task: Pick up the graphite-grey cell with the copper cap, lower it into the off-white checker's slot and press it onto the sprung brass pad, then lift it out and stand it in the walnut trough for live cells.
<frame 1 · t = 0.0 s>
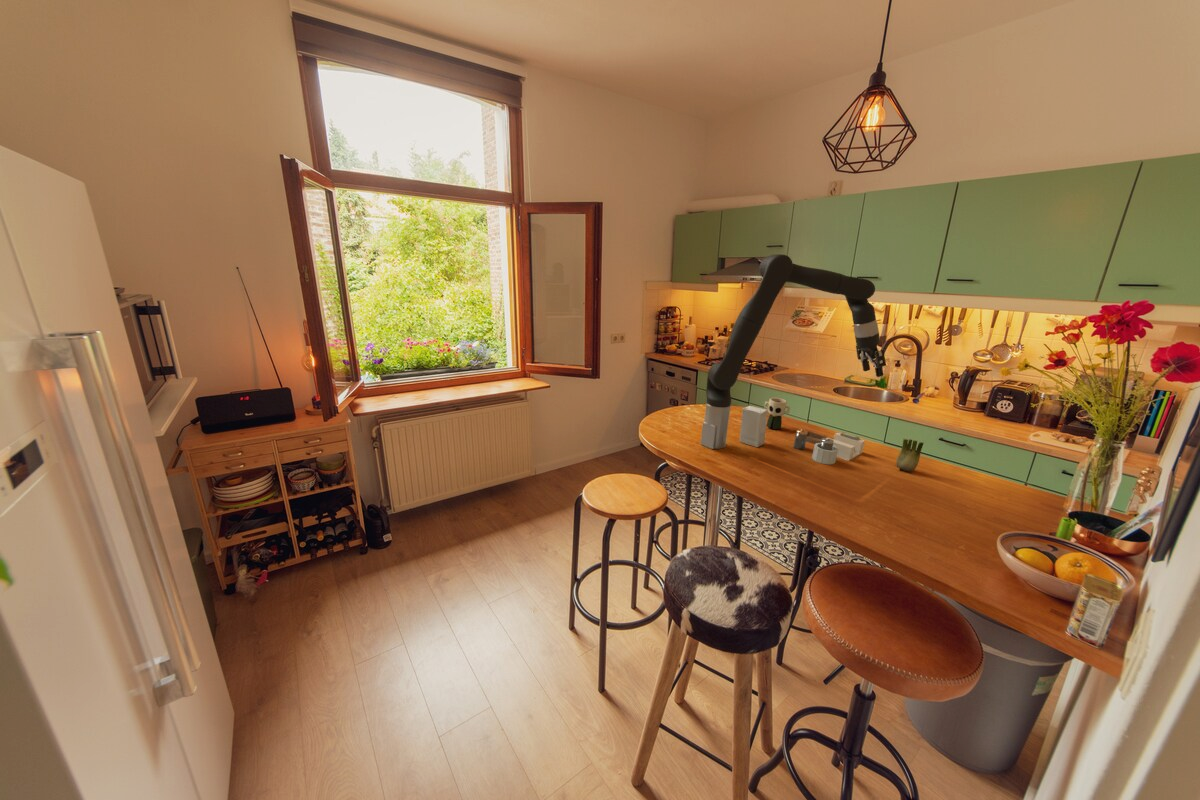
hand: (873, 373, 162), 31 cm above the breakfast bar, tool tilted 20°, fingers open, 8 cm apart
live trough: (814, 442, 178), on the breakfast bar
skincare box: (750, 443, 175), on the breakfast bar
brass pad: (843, 446, 166), point 3 cm above the breakfast bar, slide at 0.0 cm
white faceted round pot: (823, 461, 160), on the breakfast bar
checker: (841, 454, 167), on the breakfast bar
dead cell: (823, 459, 160), point 1 cm above the breakfast bar, touching white faceted round pot
live cell: (798, 449, 170), on the breakfast bar
fennel bulb: (904, 470, 155), on the breakfast bar
character mug: (773, 428, 192), on the breakfast bar
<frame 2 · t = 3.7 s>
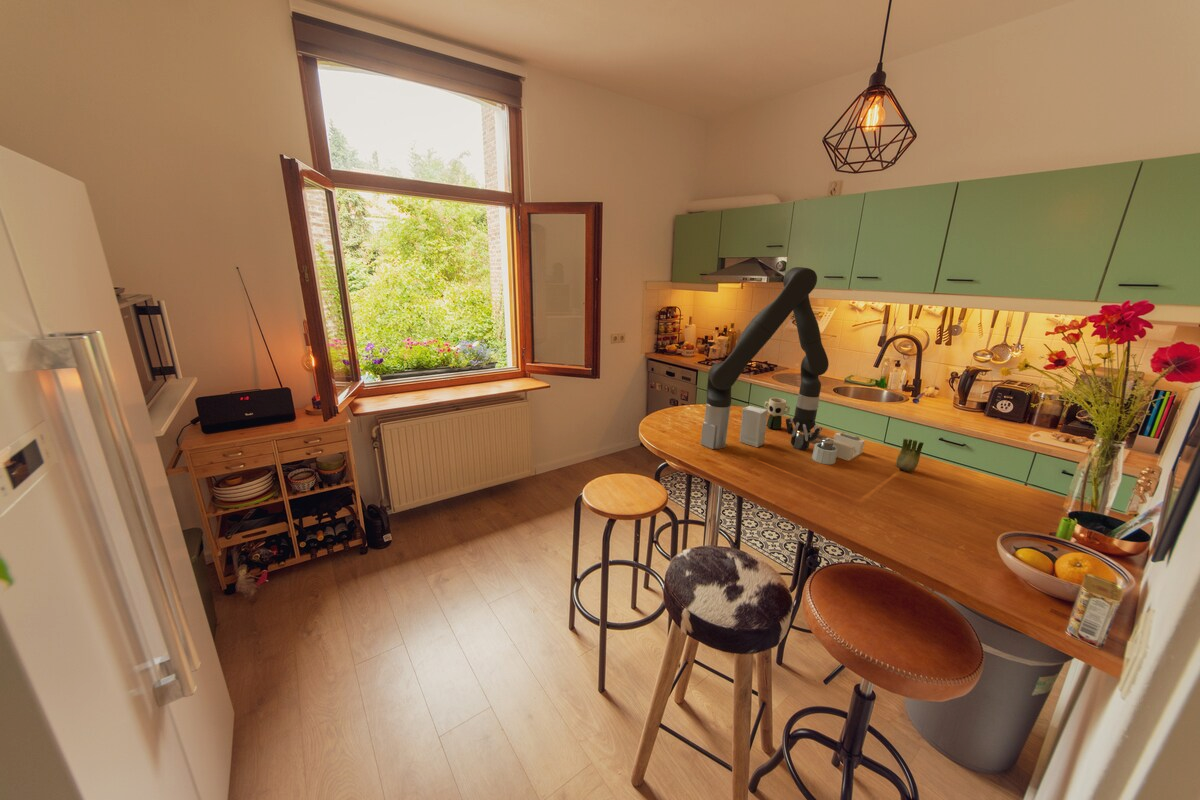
hand: (799, 446, 169), 1 cm above the breakfast bar, tool pointing down, fingers closed on live cell, 4 cm apart
live cell: (798, 449, 170), on the breakfast bar, touching gripper
everything else where it was.
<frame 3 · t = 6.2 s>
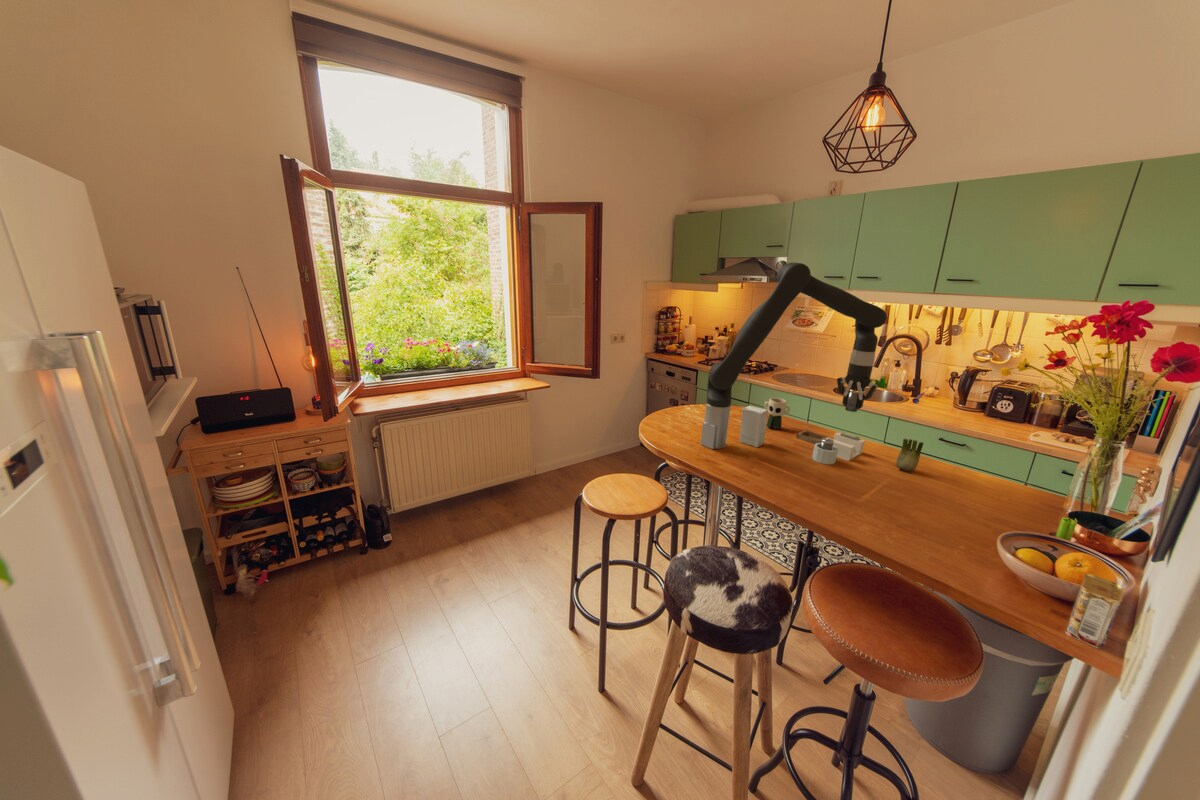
hand: (851, 407, 161), 19 cm above the breakfast bar, tool pointing down, fingers closed on live cell, 4 cm apart
live cell: (851, 410, 161), point 18 cm above the breakfast bar, touching gripper
everything else where it was.
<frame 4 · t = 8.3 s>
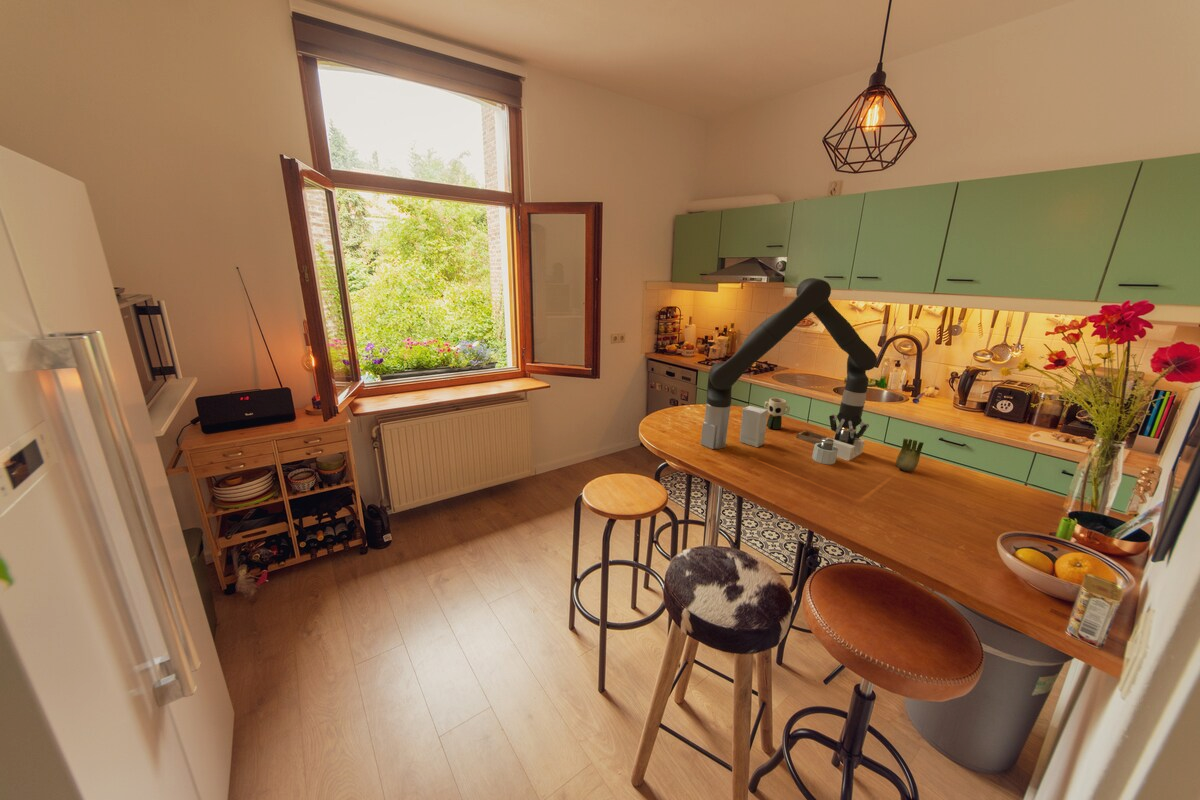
hand: (843, 444, 166), 4 cm above the breakfast bar, tool pointing down, fingers closed on live cell, 4 cm apart
brass pad: (842, 448, 166), point 3 cm above the breakfast bar, slide at -0.7 cm, touching live cell
live cell: (842, 446, 166), point 3 cm above the breakfast bar, touching brass pad, gripper
everything else where it was.
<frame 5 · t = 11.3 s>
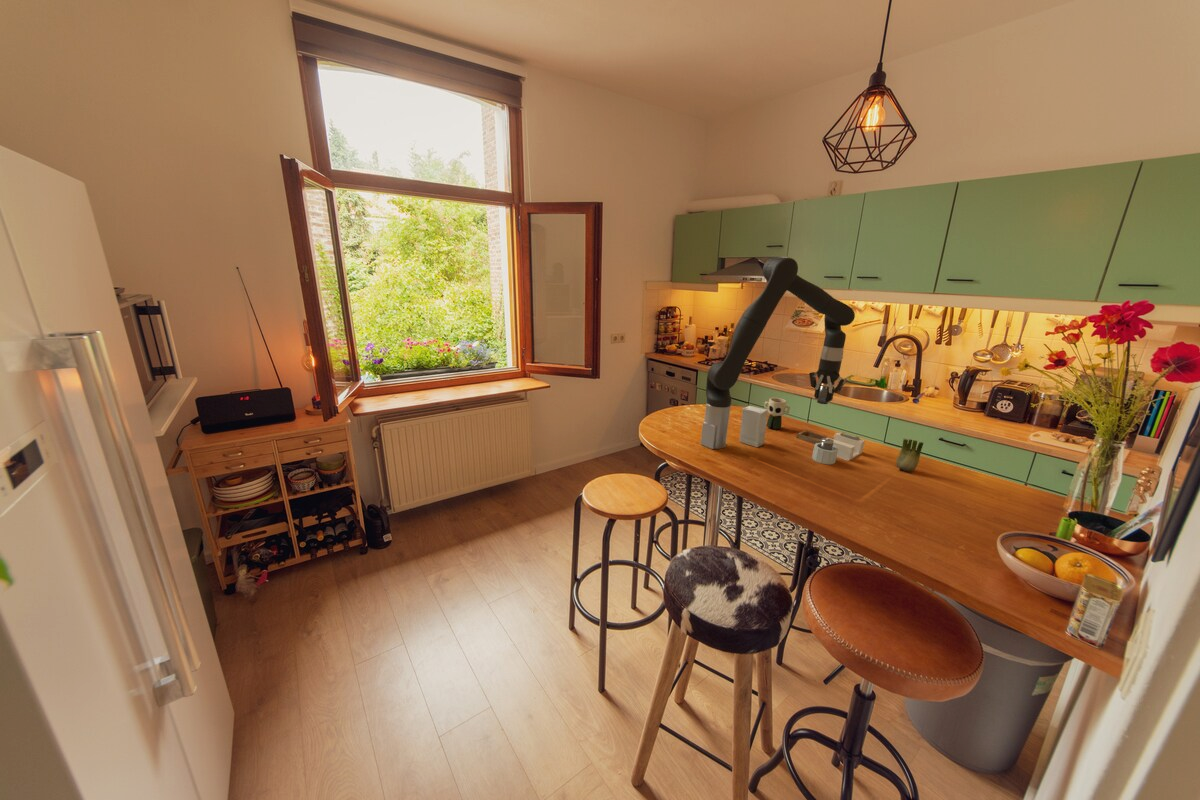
hand: (822, 399, 172), 18 cm above the breakfast bar, tool pointing down, fingers closed on live cell, 4 cm apart
brass pad: (842, 448, 166), point 2 cm above the breakfast bar, slide at -0.8 cm
live cell: (822, 402, 172), point 17 cm above the breakfast bar, touching gripper
everything else where it was.
when the fingers open (3 cm above the breakfast bar, at t = 13.9 s): live cell stays where it is, resting on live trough.
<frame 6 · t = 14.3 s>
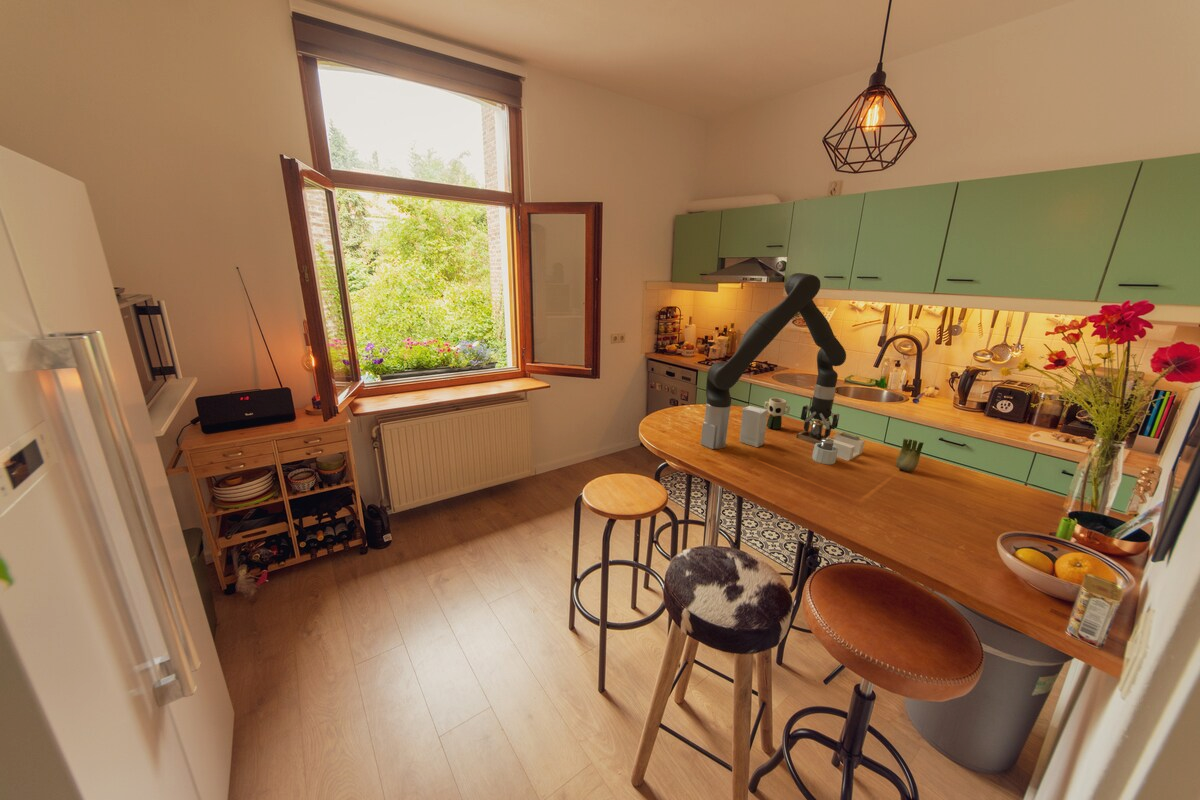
hand: (816, 433, 176), 4 cm above the breakfast bar, tool pointing down, fingers open, 7 cm apart
live cell: (814, 440, 177), point 1 cm above the breakfast bar, touching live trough
everything else where it was.
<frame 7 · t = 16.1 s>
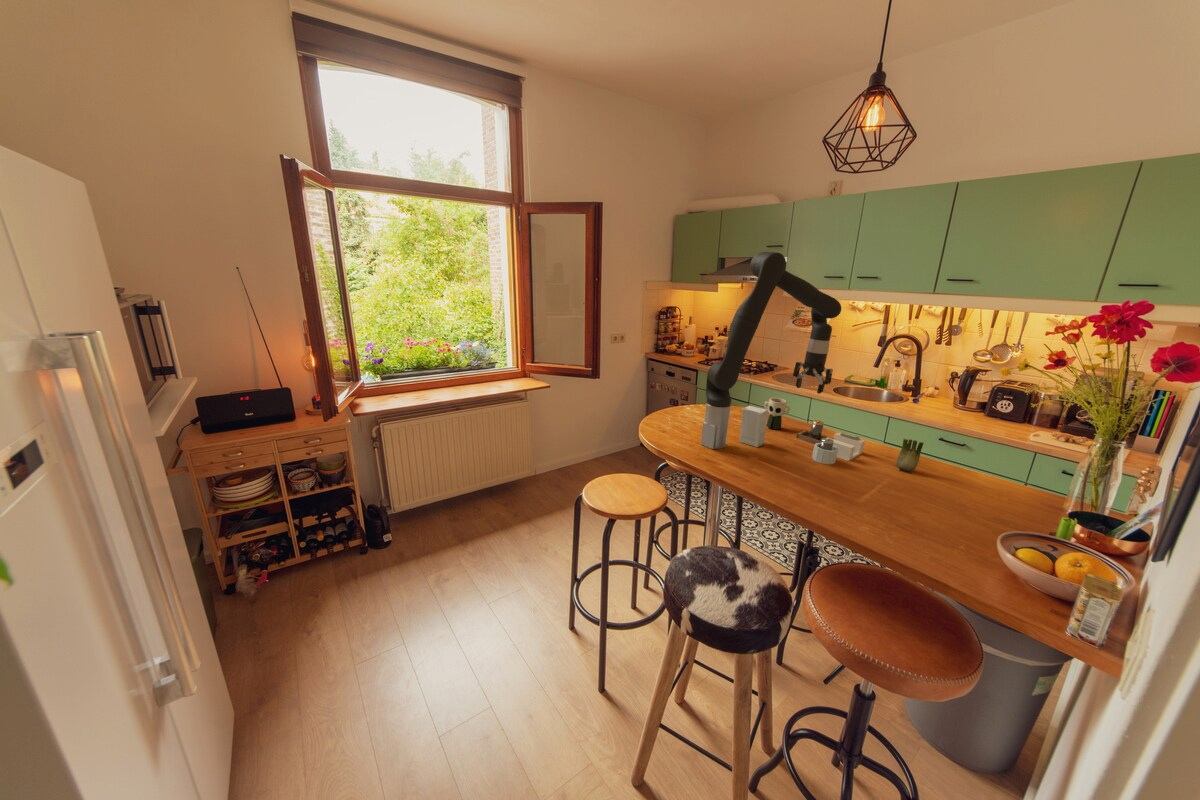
hand: (808, 390, 173), 22 cm above the breakfast bar, tool pointing down, fingers open, 8 cm apart
nothing on the breakfast bar moved.
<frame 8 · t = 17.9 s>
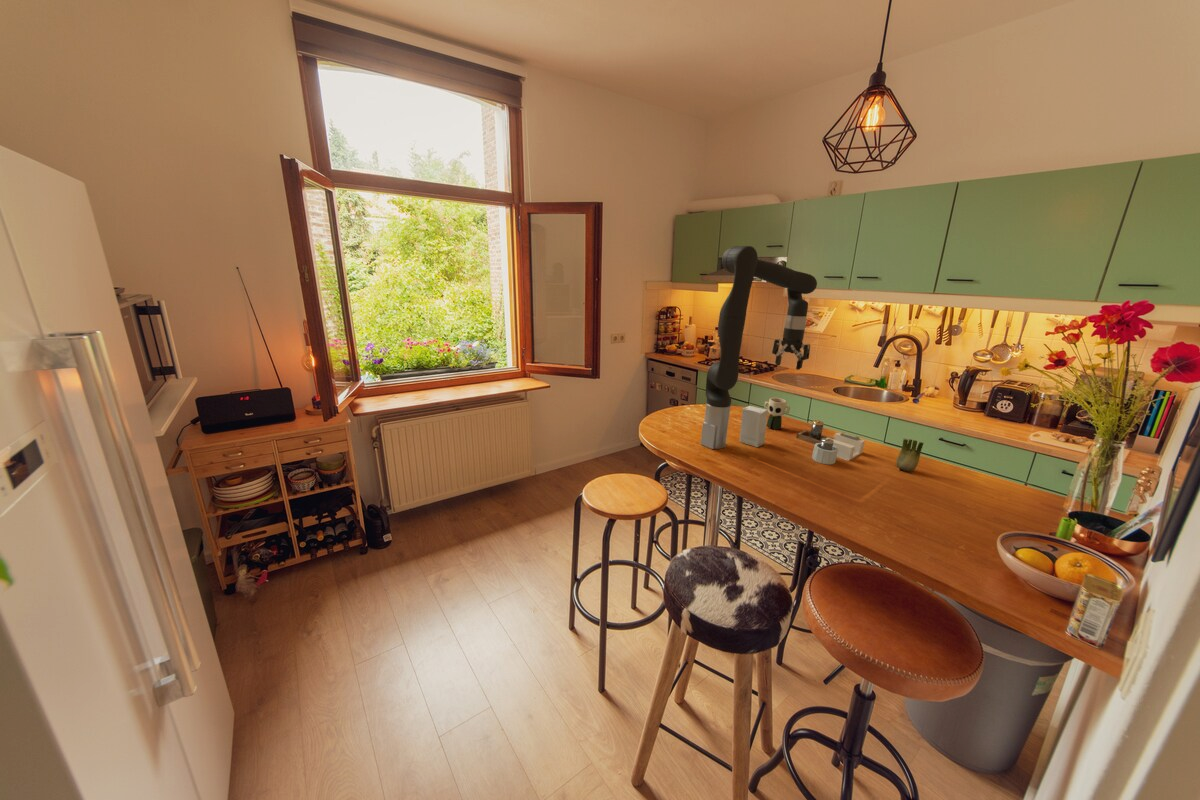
hand: (787, 367, 174), 30 cm above the breakfast bar, tool pointing down, fingers open, 8 cm apart
nothing on the breakfast bar moved.
at the end: live cell inside the target area on the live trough (0.1 cm from its centre), point 0.8 cm above the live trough's base; live cell tilted 0°; the gripper is holding nothing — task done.
